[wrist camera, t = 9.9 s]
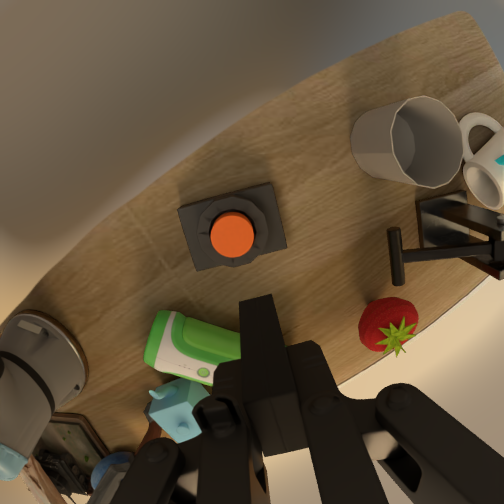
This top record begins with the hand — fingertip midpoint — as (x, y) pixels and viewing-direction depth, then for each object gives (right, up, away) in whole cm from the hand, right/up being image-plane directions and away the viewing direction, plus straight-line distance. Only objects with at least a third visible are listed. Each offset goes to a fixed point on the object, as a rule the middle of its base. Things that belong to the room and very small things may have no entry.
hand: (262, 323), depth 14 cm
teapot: (-10, -16, +27) cm, 32 cm away
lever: (+20, +4, +14) cm, 25 cm away
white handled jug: (+31, +18, +19) cm, 40 cm away
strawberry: (+15, -3, +24) cm, 29 cm away
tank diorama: (-39, -39, +32) cm, 64 cm away
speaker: (-4, -8, +25) cm, 26 cm away
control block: (-3, +6, +20) cm, 21 cm away
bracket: (+24, +7, +21) cm, 33 cm away
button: (-2, +5, +17) cm, 18 cm away
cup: (+15, +16, +19) cm, 28 cm away
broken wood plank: (-43, -38, +25) cm, 63 cm away
